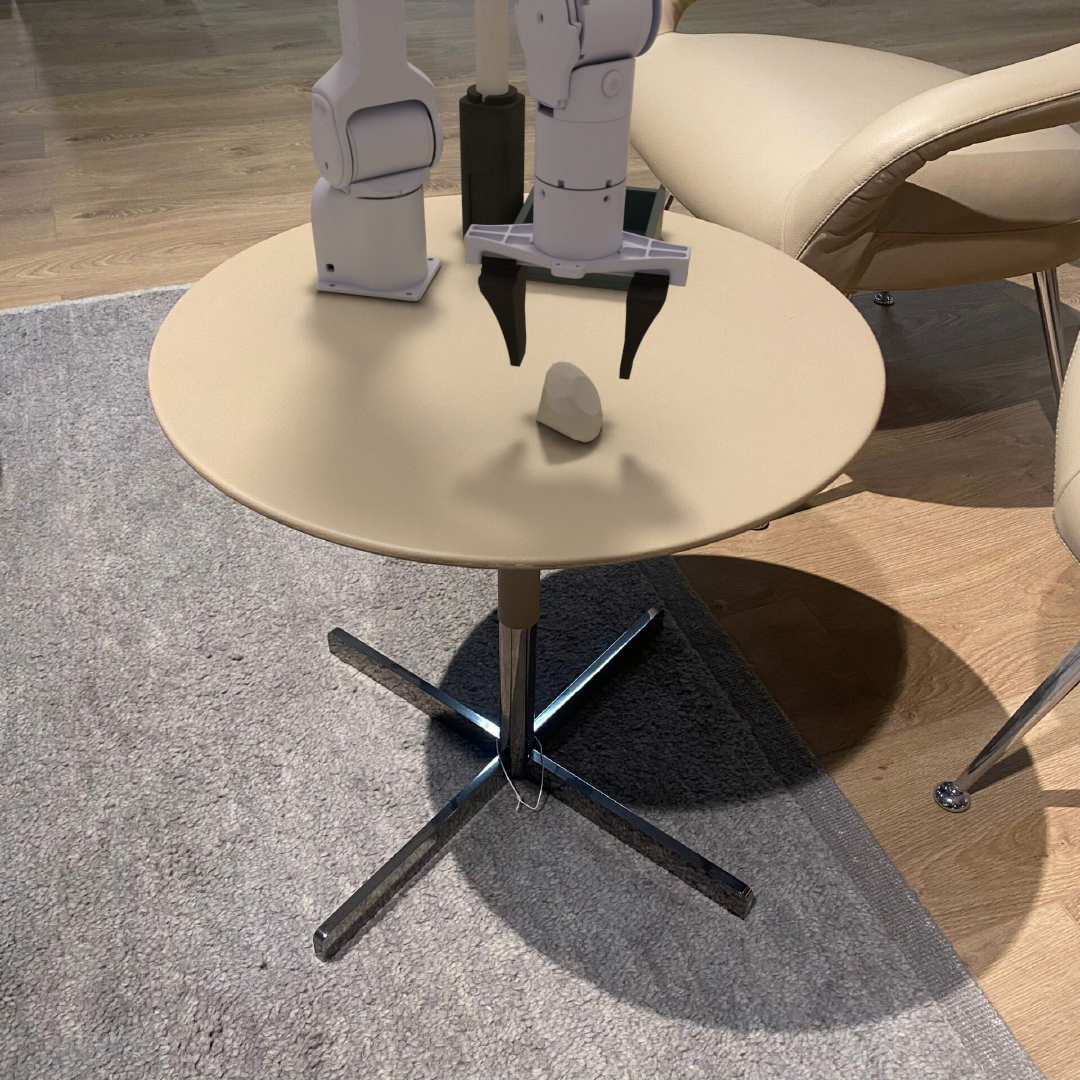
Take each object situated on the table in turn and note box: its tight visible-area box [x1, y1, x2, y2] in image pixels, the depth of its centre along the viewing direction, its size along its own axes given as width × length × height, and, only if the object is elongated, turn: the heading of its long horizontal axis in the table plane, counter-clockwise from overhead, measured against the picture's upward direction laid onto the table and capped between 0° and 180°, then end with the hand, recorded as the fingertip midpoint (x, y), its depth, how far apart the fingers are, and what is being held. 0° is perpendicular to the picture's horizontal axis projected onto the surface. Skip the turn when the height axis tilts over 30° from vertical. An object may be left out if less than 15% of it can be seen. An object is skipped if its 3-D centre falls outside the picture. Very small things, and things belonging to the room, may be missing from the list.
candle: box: [458, 0, 526, 237], centre depth 92 cm, size 5×5×25 cm
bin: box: [513, 184, 667, 292], centre depth 96 cm, size 13×13×5 cm
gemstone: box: [535, 361, 604, 443], centre depth 74 cm, size 6×6×5 cm
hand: (571, 365), depth 71 cm, fingers open, 7 cm apart
